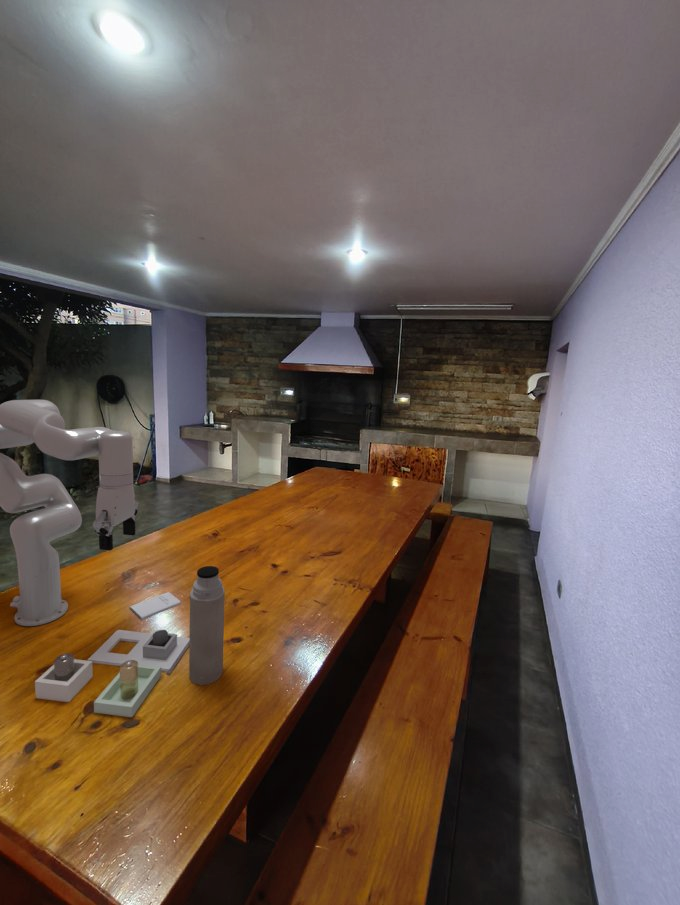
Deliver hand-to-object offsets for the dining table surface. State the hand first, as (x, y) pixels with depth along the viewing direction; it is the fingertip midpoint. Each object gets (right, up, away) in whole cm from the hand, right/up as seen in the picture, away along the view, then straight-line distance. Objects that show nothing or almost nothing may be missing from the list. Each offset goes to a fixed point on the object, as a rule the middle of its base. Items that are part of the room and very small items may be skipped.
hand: (118, 541), depth 103 cm
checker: (+6, -29, 0) cm, 30 cm away
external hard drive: (0, -26, +20) cm, 33 cm away
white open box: (-4, -31, -14) cm, 34 cm away
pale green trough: (+11, -32, -14) cm, 37 cm away
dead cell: (-4, -30, -14) cm, 33 cm away
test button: (+12, -28, -1) cm, 30 cm away
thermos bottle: (+25, -32, -5) cm, 41 cm away
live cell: (+11, -31, -14) cm, 36 cm away
